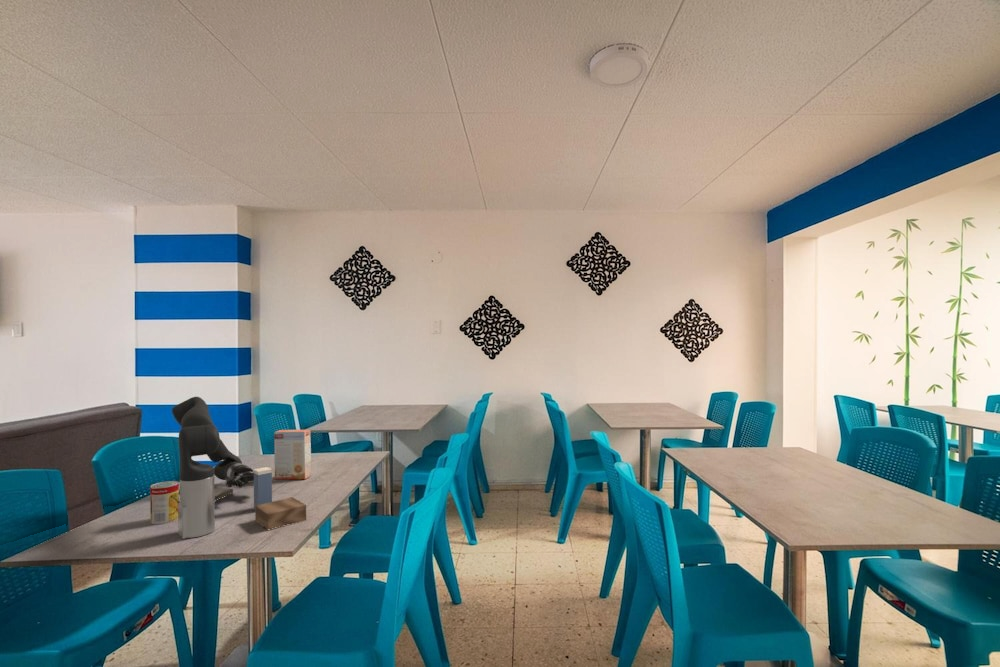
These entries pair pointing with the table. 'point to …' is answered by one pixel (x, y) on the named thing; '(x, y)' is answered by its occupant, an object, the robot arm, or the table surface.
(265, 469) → the carton
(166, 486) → the canned food
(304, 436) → the cracker box
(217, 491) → the washcloth
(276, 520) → the display plinth
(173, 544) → the table surface
